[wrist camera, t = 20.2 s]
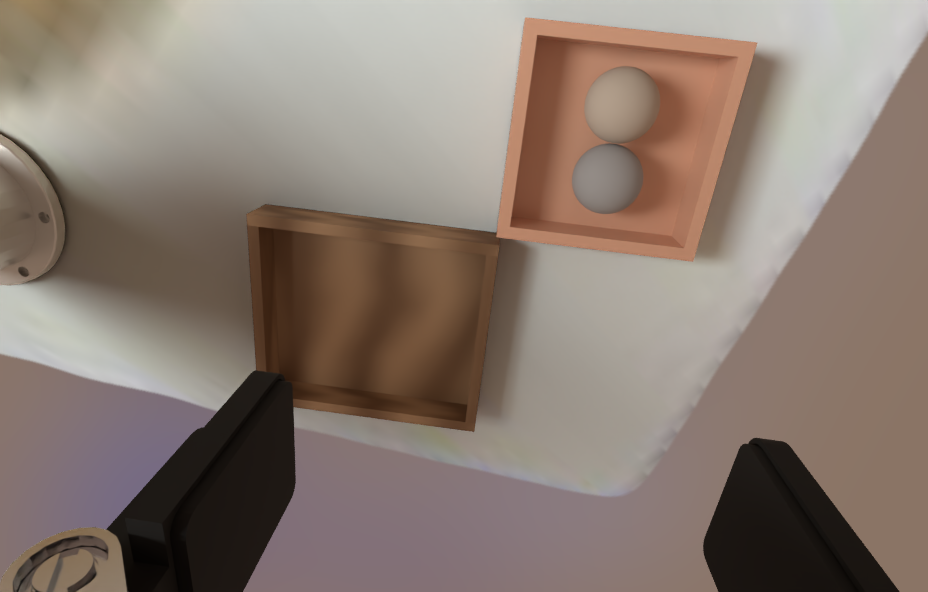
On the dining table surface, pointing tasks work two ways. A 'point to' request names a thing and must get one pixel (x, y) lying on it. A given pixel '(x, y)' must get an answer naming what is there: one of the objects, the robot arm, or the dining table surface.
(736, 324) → the dining table surface
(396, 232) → the walnut tray
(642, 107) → the beige ball
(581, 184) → the grey ball
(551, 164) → the terracotta dish
